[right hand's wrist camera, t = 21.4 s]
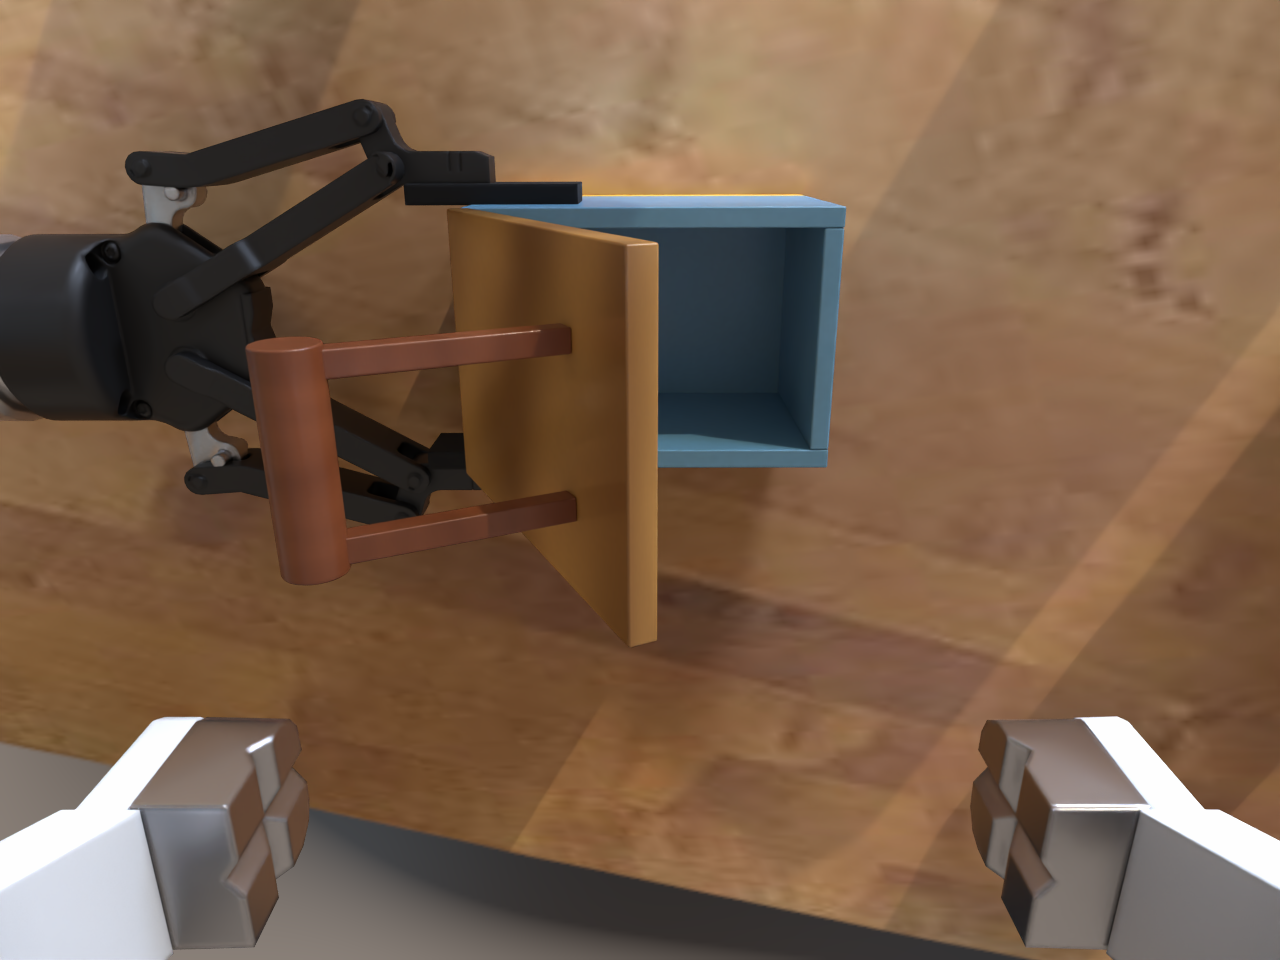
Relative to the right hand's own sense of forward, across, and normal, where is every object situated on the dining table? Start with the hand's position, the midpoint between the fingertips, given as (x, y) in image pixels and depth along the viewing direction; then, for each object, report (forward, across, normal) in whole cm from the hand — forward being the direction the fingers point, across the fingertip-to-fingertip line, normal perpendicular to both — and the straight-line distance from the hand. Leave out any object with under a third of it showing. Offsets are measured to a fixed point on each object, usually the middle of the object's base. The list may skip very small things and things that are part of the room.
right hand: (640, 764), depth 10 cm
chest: (+34, 0, 0) cm, 34 cm away
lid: (+18, -3, 0) cm, 18 cm away
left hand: (+28, -2, 0) cm, 28 cm away
